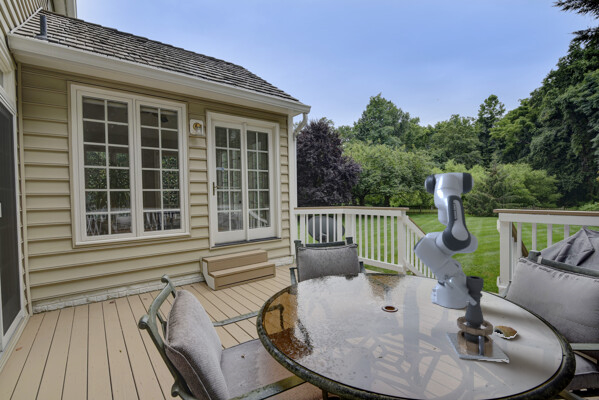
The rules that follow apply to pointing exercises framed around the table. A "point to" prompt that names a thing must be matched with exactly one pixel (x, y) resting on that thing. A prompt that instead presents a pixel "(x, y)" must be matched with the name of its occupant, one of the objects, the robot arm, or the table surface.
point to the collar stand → (472, 349)
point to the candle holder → (474, 312)
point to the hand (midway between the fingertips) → (476, 301)
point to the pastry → (505, 330)
